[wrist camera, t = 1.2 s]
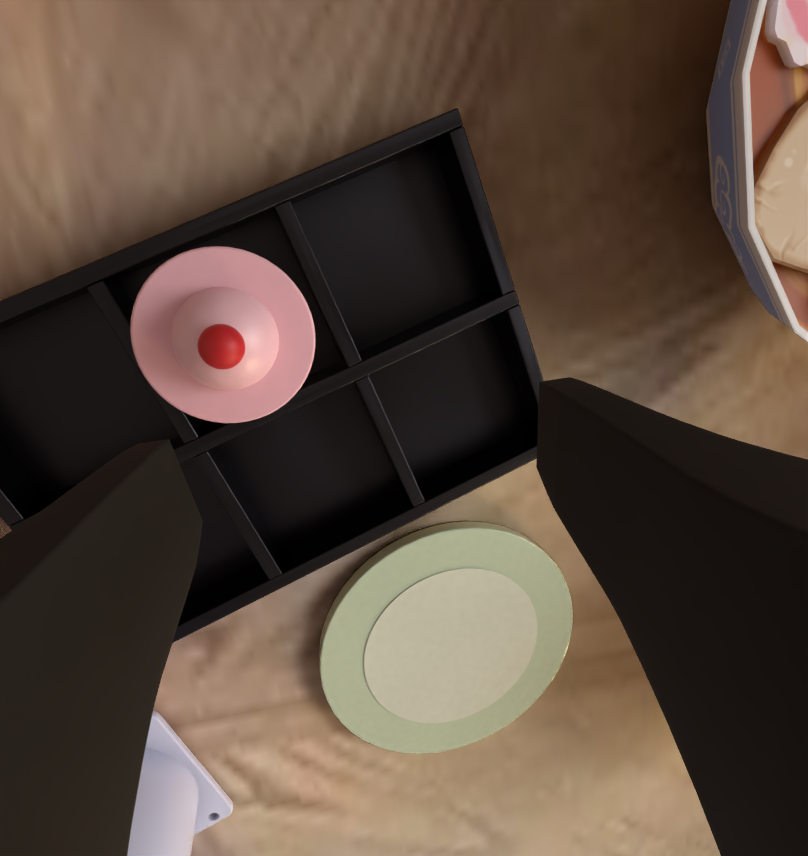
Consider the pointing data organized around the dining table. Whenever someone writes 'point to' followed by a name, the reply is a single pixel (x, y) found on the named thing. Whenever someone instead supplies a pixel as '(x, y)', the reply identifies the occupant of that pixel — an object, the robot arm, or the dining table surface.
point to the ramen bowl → (764, 151)
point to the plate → (444, 637)
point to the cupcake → (222, 334)
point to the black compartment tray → (326, 382)
